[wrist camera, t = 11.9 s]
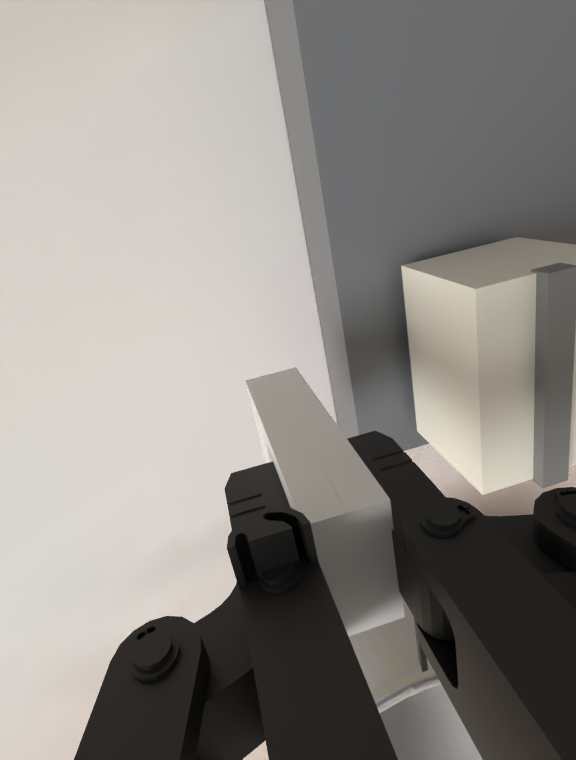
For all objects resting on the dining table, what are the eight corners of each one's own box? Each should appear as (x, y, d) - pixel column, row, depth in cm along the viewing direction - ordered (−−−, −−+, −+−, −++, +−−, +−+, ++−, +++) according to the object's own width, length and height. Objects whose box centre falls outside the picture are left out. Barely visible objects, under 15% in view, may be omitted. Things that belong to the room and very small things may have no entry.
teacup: (248, 555, 22) (286, 733, 15) (462, 517, 24) (587, 657, 17) (261, 751, 27) (294, 955, 20) (437, 705, 29) (524, 875, 22)
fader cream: (400, 263, 15) (485, 290, 11) (516, 235, 15) (637, 250, 11) (417, 432, 17) (491, 504, 13) (516, 402, 18) (616, 463, 14)
